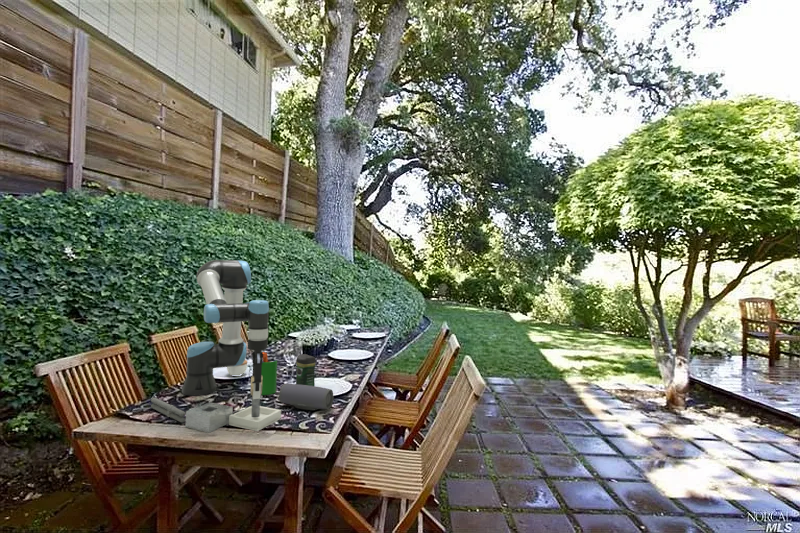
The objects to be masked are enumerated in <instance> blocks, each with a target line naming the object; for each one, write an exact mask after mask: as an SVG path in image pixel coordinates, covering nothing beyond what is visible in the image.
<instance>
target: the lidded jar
mask: <svg viewBox="0 0 800 533" xmlns="http://www.w3.org/2000/svg"><path fill="white" fill-rule="evenodd" d="M247 367H248V360H246V359H245V361H244V362H243V364H241V365H238V366H234V367H233V366H231V367H226V370H227V372H228V375H230V376H231V375H240V374H243V373H244V374H245V372H246V371H247ZM244 374H243V375H244Z"/></svg>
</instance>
